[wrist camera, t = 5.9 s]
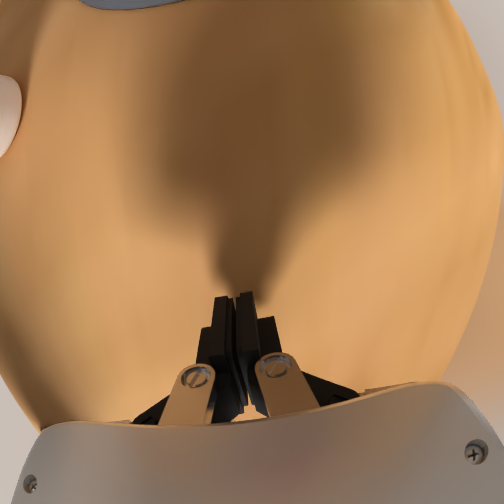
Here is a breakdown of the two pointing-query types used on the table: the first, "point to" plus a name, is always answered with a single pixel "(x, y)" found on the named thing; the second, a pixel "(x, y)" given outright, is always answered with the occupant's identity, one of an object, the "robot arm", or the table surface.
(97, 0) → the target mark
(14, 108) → the drinking glass
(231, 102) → the table surface
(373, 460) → the robot arm
